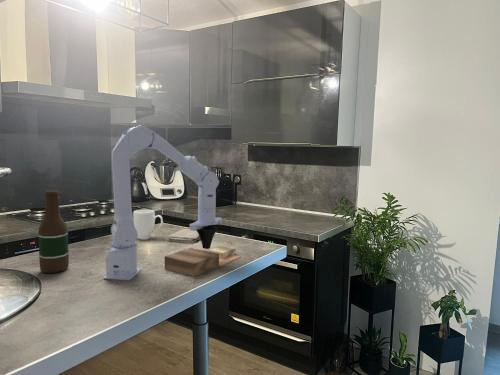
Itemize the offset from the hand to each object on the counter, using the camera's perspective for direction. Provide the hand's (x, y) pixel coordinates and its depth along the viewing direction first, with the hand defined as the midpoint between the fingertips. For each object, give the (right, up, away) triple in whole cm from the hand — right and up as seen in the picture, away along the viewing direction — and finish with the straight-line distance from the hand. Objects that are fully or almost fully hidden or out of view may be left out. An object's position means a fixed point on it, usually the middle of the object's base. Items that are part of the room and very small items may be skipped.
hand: (206, 248), depth 120 cm
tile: (+5, -2, +8) cm, 9 cm away
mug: (-27, -1, +29) cm, 40 cm away
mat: (+3, -4, +5) cm, 7 cm away
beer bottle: (-45, -5, -10) cm, 46 cm away
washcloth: (-11, -2, +32) cm, 34 cm away
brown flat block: (-4, -5, -5) cm, 8 cm away
